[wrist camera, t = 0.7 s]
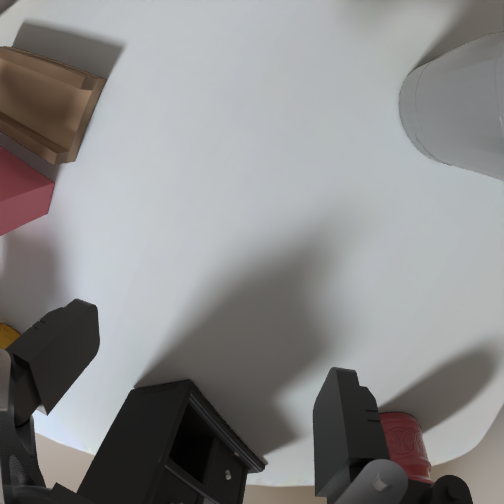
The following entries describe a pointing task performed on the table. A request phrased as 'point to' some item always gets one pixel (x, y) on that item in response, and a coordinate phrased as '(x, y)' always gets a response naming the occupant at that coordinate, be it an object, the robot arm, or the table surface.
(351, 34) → the table surface
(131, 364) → the table surface
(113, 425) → the bookend
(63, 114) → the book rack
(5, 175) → the book
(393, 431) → the canister
